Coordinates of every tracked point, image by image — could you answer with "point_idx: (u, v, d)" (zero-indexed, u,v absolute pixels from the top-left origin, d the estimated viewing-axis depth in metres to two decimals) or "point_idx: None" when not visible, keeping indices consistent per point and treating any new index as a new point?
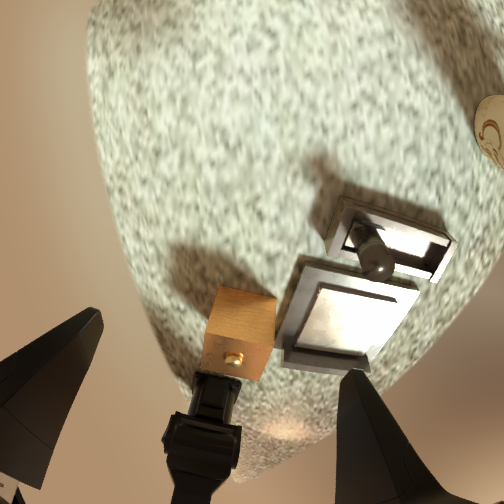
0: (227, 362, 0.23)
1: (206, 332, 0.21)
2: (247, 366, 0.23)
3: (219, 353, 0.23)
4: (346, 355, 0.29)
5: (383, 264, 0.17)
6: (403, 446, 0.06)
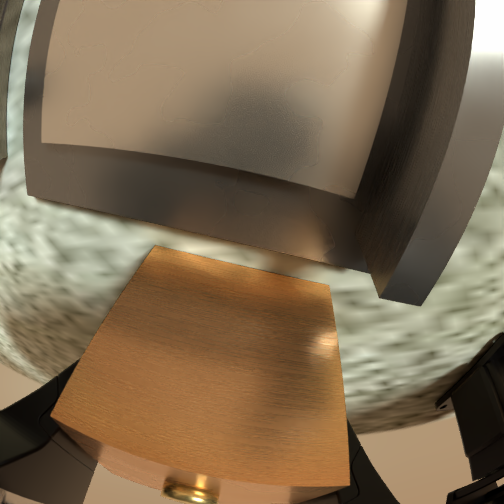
0: None
1: (113, 472, 0.06)
2: (223, 490, 0.04)
3: None
4: None
5: None
6: (353, 449, 0.05)
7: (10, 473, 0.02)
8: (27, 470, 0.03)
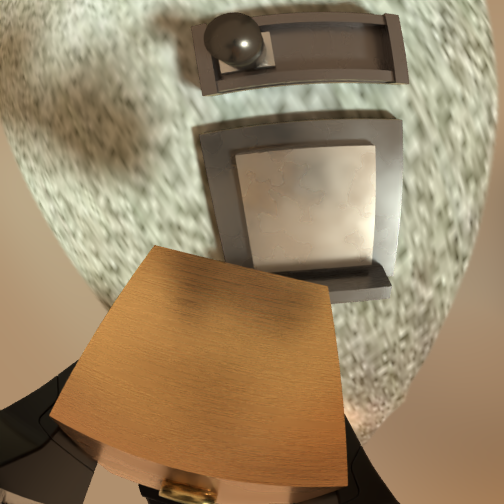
0: None
1: (111, 472, 0.06)
2: (221, 489, 0.04)
3: None
4: (345, 271, 0.19)
5: (232, 27, 0.08)
6: (353, 449, 0.05)
7: (10, 473, 0.02)
8: (27, 470, 0.03)
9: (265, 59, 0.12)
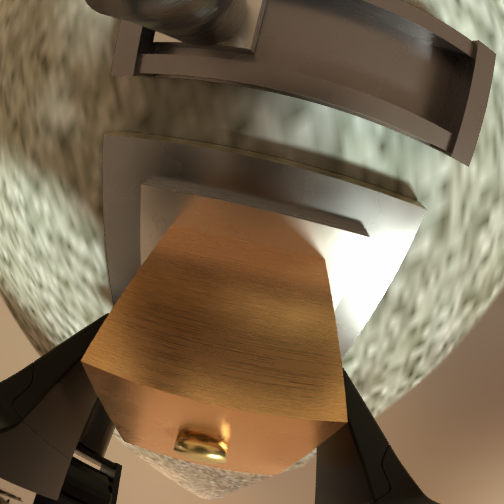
0: (203, 461, 0.06)
1: (125, 440, 0.07)
2: (233, 434, 0.05)
3: None
4: None
5: None
6: (382, 448, 0.06)
7: None
8: None
9: (236, 34, 0.06)
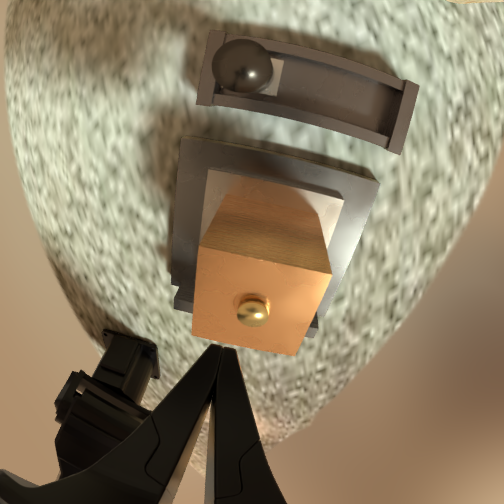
0: (253, 324, 0.13)
1: (193, 333, 0.14)
2: (274, 292, 0.12)
3: (241, 327, 0.13)
4: None
5: (245, 56, 0.08)
6: (247, 442, 0.05)
7: None
8: None
9: (269, 87, 0.12)
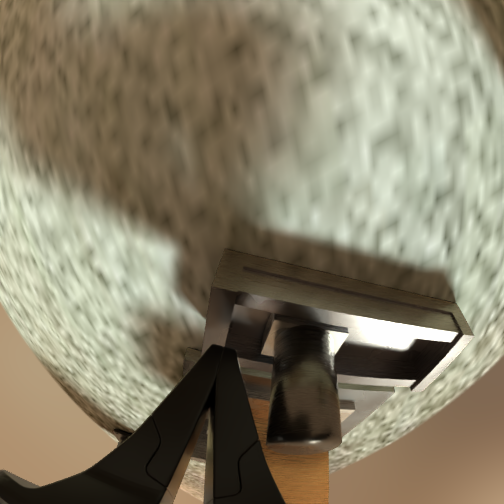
0: None
1: None
2: None
3: None
4: None
5: (311, 441, 0.06)
6: (246, 442, 0.05)
7: None
8: None
9: None
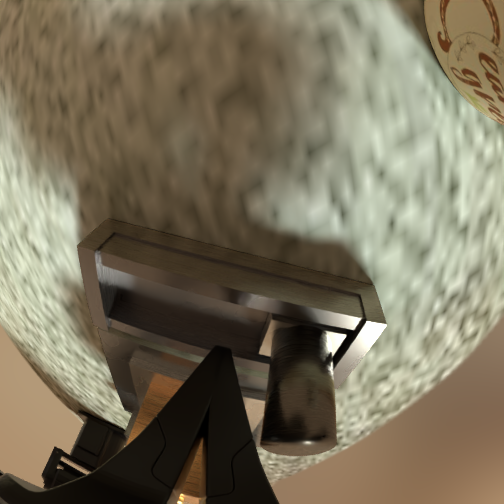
0: None
1: None
2: (183, 496, 0.10)
3: None
4: None
5: (306, 442, 0.06)
6: (240, 441, 0.05)
7: None
8: None
9: None
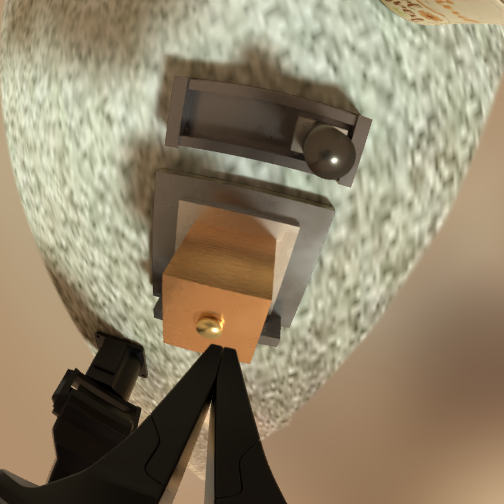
0: (210, 336, 0.15)
1: (164, 341, 0.16)
2: (225, 312, 0.14)
3: (202, 338, 0.16)
4: None
5: (335, 147, 0.11)
6: (247, 442, 0.05)
7: None
8: None
9: None
